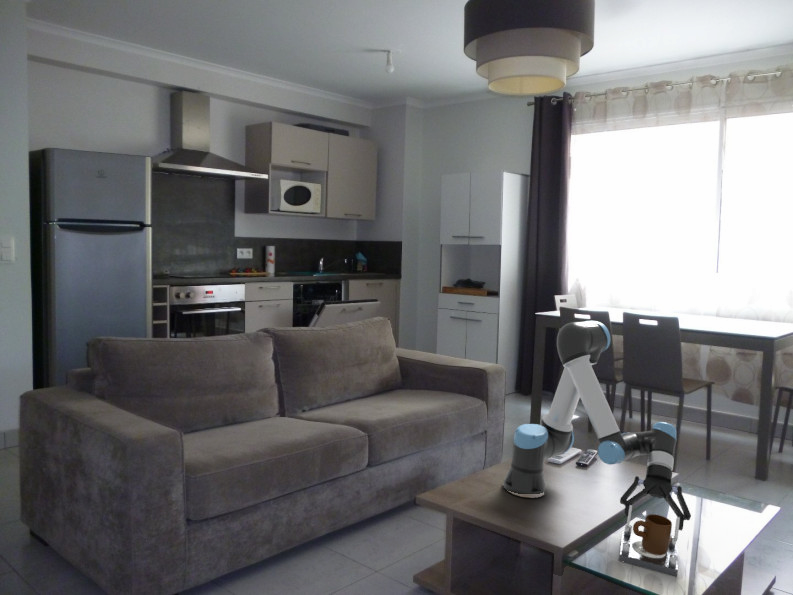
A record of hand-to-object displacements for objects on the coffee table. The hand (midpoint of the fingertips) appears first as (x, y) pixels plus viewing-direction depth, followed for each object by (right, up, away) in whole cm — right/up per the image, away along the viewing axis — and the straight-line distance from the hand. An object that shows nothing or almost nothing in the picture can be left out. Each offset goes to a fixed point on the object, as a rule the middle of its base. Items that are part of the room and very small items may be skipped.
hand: (651, 533), depth 196 cm
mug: (0, -6, +3) cm, 6 cm away
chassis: (0, -8, +3) cm, 8 cm away
